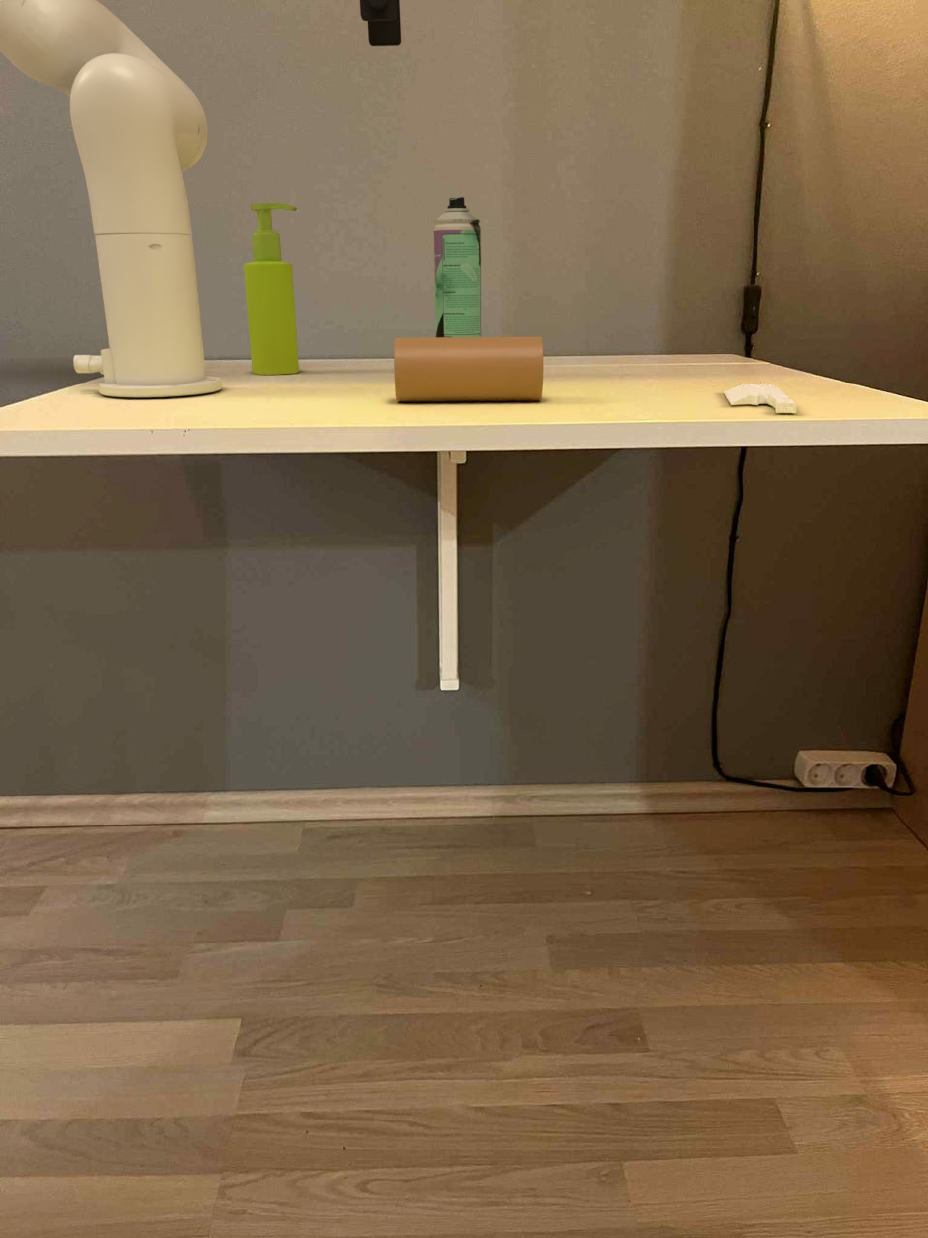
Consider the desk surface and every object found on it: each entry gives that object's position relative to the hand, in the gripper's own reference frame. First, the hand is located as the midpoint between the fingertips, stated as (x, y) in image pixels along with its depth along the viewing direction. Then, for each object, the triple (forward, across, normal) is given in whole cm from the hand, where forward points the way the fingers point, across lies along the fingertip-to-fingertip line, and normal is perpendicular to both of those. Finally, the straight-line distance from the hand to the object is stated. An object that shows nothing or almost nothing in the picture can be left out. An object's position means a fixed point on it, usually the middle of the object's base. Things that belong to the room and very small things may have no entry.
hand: (382, 32), depth 89 cm
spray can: (+33, -16, +7) cm, 37 cm away
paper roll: (+33, +8, +7) cm, 35 cm away
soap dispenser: (+33, -23, -16) cm, 43 cm away
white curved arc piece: (+34, +13, +34) cm, 50 cm away
